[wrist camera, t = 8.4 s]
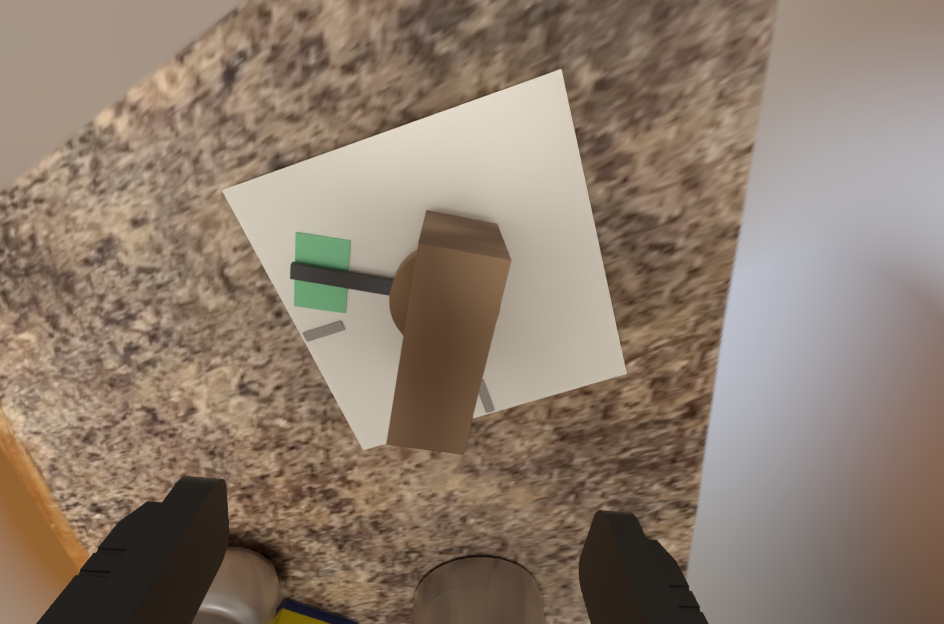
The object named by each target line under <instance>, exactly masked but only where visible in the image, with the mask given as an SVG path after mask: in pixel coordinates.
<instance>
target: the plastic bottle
mask: <svg viewBox="0 0 944 624" xmlns="http://www.w3.org/2000/svg"><path fill="white" fill-rule="evenodd" d="M279 593H280V583H279V580H278V576H277V573H276V570H275V568H274V566H273V565H272V563H271V562H270V561H269V560H268V559H267V558H265V557H264V556H263V555H261V554H259V553H257V552H255V551H253V550H250V549H246V548H242V547H227V550H226V553H225V556H224V559H223V562H222V564H221V566H220V568H219V570H218V572H217V574H216V576H215V578H214V580H213V582H212V584H211V586H210V588H209V590H208V592H207V594H206V596H205V598H204V600H203V602H202V604H201V606H200V608H199V610H198V612H197V614H196V616H195V618H194V620H193V622H192V624H271V623H272V621H273V619H274V617H275V614H276V610H277V604H278V599H279Z"/></svg>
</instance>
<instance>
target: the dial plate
mask: <svg viewBox="0 0 944 624" xmlns="http://www.w3.org/2000/svg"><path fill="white" fill-rule="evenodd" d="M222 191H223V193H224V195H225V197H226V199H227V201H228V203H229V204H230V206H231V208H232V210H233V212H234V214H235V215H236V217H237V219H238V221H239V223H240V225H241V226H242V228H243V230H244V232H245V234H246V236H247V237H248V239H249V241H250V243H251V245H252V247H253V248H254V250H255V252H256V254H257V256H258V258H259V259H260V261H261V263H262V265H263V267H264V269H265V271H266V272H267V274H268V276H269V278H270V280H271V282H272V283H273V285H274V287H275V289H276V291H277V293H278V294H279V296H280V298H281V300H282V302H283V304H284V305H285V307H286V309H287V311H288V313H289V315H290V316H291V318H292V320H293V322H294V324H295V326H296V327H297V329H298V331H299V333H300V335H301V337H302V338H303V340H304V342H305V344H306V346H307V348H308V350H309V351H310V353H311V355H312V357H313V359H314V361H315V362H316V364H317V366H318V368H319V370H320V372H321V373H322V375H323V377H324V379H325V381H326V383H327V384H328V386H329V388H330V390H331V392H332V394H333V395H334V397H335V399H336V401H337V403H338V405H339V406H340V408H341V410H342V412H343V414H344V416H345V418H346V419H347V421H348V423H349V425H350V427H351V429H352V430H353V432H354V434H355V436H356V438H357V440H358V441H359V443H360V445H361V447H362V449H363V450H366V449H369V448H373V447H376V446H380V445H383V444H386V442H387V436H388V430H389V423H390V417H391V411H392V404H393V398H394V392H395V386H396V379H397V373H398V367H399V360H400V354H401V348H402V342H403V335H402V334H401V332H400V331H399V330H398V328H397V327H396V325H395V323H394V321H393V319H392V316H391V312H390V308H389V296H388V295H382V294H376V293H370V292H364V291H359V290H353V289H347V288H341V287H335V286H329V285H323V284H317V283H311V282H305V281H299V280H293V279H290V265H291V263H292V262H293V261H294V262H300V263H305V264H311V265H317V266H323V267H328V268H334V269H340V270H346V271H351V272H357V273H363V274H369V275H374V276H380V277H386V278H392V279H394V277H395V275H396V272H397V270H398V268H399V266H400V265H401V263H402V262H403V261H404V260H405V259H406V258H407V257H408V256H409V255H410V254H411V253H412V252H414V251H415V250H417V247H418V242H419V238H420V234H421V230H422V225H423V221H424V217H425V213H426V210H429V211H435V212H440V213H445V214H450V215H455V216H460V217H466V218H471V219H476V220H481V221H486V222H492V223H497V224H498V226H499V229H500V232H501V234H502V237H503V239H504V242H505V245H506V247H507V250H508V252H509V255H510V257H511V260H512V261H511V265H510V269H509V273H508V277H507V281H506V285H505V289H504V293H503V297H502V301H501V307H500V313H499V316H498V319H497V322H496V326H495V330H494V334H493V338H492V342H491V346H490V350H489V354H488V358H487V362H486V366H485V370H484V374H483V378H482V382H481V386H480V390H479V394H478V398H477V402H476V407H475V411H474V415H473V418H476V417H480V416H483V415H487V414H490V413H493V412H497V411H500V410H504V409H507V408H511V407H514V406H517V405H521V404H524V403H528V402H531V401H535V400H538V399H542V398H545V397H548V396H552V395H555V394H559V393H562V392H566V391H569V390H573V389H576V388H579V387H583V386H586V385H590V384H593V383H597V382H600V381H604V380H607V379H610V378H614V377H617V376H621V375H624V374H627V373H626V369H625V364H624V359H623V355H622V350H621V345H620V341H619V336H618V331H617V327H616V322H615V317H614V313H613V308H612V303H611V299H610V294H609V289H608V285H607V280H606V275H605V271H604V266H603V261H602V257H601V252H600V247H599V243H598V238H597V233H596V229H595V224H594V219H593V215H592V210H591V205H590V201H589V196H588V191H587V187H586V182H585V177H584V173H583V168H582V163H581V159H580V154H579V149H578V145H577V140H576V135H575V131H574V126H573V121H572V117H571V112H570V107H569V103H568V98H567V93H566V89H565V84H564V79H563V75H562V70H561V69H560V70H557V71H554V72H551V73H548V74H546V75H543V76H540V77H537V78H534V79H532V80H529V81H526V82H523V83H520V84H518V85H515V86H512V87H509V88H506V89H504V90H501V91H498V92H495V93H492V94H490V95H487V96H484V97H481V98H478V99H476V100H473V101H470V102H467V103H464V104H462V105H459V106H456V107H453V108H450V109H448V110H445V111H442V112H439V113H436V114H434V115H431V116H428V117H425V118H422V119H420V120H417V121H414V122H411V123H408V124H406V125H403V126H400V127H397V128H394V129H392V130H389V131H386V132H383V133H380V134H378V135H375V136H372V137H369V138H366V139H364V140H361V141H358V142H355V143H352V144H350V145H347V146H344V147H341V148H338V149H336V150H333V151H330V152H327V153H324V154H322V155H319V156H316V157H313V158H310V159H308V160H305V161H302V162H299V163H296V164H294V165H291V166H288V167H285V168H282V169H280V170H277V171H274V172H271V173H268V174H266V175H263V176H260V177H257V178H254V179H252V180H249V181H246V182H243V183H240V184H238V185H235V186H232V187H229V188H227V189H224V190H222Z"/></svg>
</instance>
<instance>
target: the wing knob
mask: <svg viewBox="0 0 944 624" xmlns="http://www.w3.org/2000/svg"><path fill="white" fill-rule="evenodd" d="M511 261H512V260H511V257H510V255H509V252H508V250H507V247H506V245H505V242H504V239H503V237H502V234H501V232H500V229H499V226H498V224H497V223H492V222H486V221H481V220H476V219H471V218H466V217H460V216H455V215H450V214H445V213H440V212H435V211H429V210H426V213H425V217H424V221H423V225H422V230H421V234H420V238H419V242H418V247H417V250H415V251H414V252H412V253H411V254H410V255H409V256H408V257H407V258H406V259H405V260H404V261H403V262H402V263H401V265H400V266H399V268H398V270H397V272H396V275H395V277H394V279H392V278H386V277H380V276H374V275H369V274H363V273H357V272H351V271H346V270H340V269H334V268H328V267H323V266H317V265H311V264H305V263H300V262H294V261H293V262H292V263H291V265H290V279H293V280H299V281H305V282H311V283H317V284H323V285H329V286H335V287H341V288H347V289H353V290H359V291H364V292H370V293H376V294H382V295H388V296H389V308H390V312H391V316H392V319H393V321H394V323H395V325H396V327H397V328H398V330H399V331H400V332H401V334H402V335H403V342H402V348H401V354H400V360H399V367H398V373H397V379H396V386H395V392H394V398H393V404H392V411H391V417H390V423H389V430H388V436H387V442H386V445H394V446H401V447H409V448H416V449H424V450H432V451H439V452H447V453H455V454H462V455H464V451H465V447H466V443H467V439H468V435H469V431H470V427H471V423H472V419H473V415H474V411H475V407H476V402H477V398H478V394H479V390H480V386H481V382H482V378H483V374H484V370H485V366H486V362H487V358H488V354H489V350H490V346H491V342H492V338H493V334H494V330H495V326H496V322H497V319H498V316H499V313H500V307H501V301H502V297H503V293H504V289H505V285H506V281H507V277H508V273H509V269H510V265H511Z"/></svg>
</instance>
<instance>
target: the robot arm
mask: <svg viewBox="0 0 944 624" xmlns="http://www.w3.org/2000/svg"><path fill="white" fill-rule="evenodd" d="M228 541H229V518H228V503H227V487H226V482H225V480H224V479H216V478H204V477H191V476H184V477H182V478H181V479H180V480H179V481H178V482H177V483H176V484H175V486H174V487H173V488H172V490H171V491H170V492H169V494H168V495H167V496H166V498H165V499H164V501H163V502H148V501H147V502H146V503H144V504H143V505H142V506H140V507H139V508H138V509H136V510H135V511H133V512H132V513H131V514H129V515H128V516H126V517H125V518H124V519H122V520H121V521H119V522H118V524H117V525H116V526H115V527H114V528H113V530H112V531H111V532H110V533H109V535H108V536H107V537H106V538H105V540H104V541H103V542H102V543H101V545H100V546H99V547H98V550H97V552H96V553H93V554H92V556H91V557H90V558H89V559H88V561H87V562H86V563H85V564H84V565H83V567H82V568H81V569H80V573H79V575H76V576H75V577H74V578H73V579H72V580H71V582H70V583H69V584H68V585H67V587H66V588H65V589H64V590H63V591H62V593H61V594H60V595H59V596H58V598H57V599H56V600H55V601H54V603H53V604H52V605H51V606H50V608H49V609H48V610H47V611H46V613H45V614H44V615H43V616H42V617H41V619H40V620H39V621H38V622H37V624H192V622H193V620H194V618H195V616H196V614H197V612H198V610H199V608H200V606H201V604H202V602H203V600H204V598H205V596H206V594H207V592H208V590H209V588H210V586H211V584H212V582H213V580H214V578H215V576H216V574H217V572H218V570H219V568H220V566H221V564H222V562H223V559H224V556H225V553H226V550H227V546H228ZM579 581H580V587H581V591H582V594H583V598H584V601H585V605H586V608H587V612H588V615H589V619H590V622H591V624H708V622H707V620H706V618H705V616H704V614H703V612H700V606H699V604H698V603H697V601H696V599H695V597H694V595H693V593H692V591H689V585H688V583H687V581H686V579H685V577H684V575H683V574H682V572H681V570H680V568H679V566H678V564H677V562H676V561H675V560H674V559H673V557H672V556H671V555H670V554H669V553H668V552H667V551H666V550H665V549H664V548H663V546H662V545H661V544H660V543H659V542H658V541H657V540H649V539H646V536H645V534H644V532H643V530H642V528H641V526H640V524H639V522H638V520H637V518H636V517H635V515H634V514H633V513H629V512H616V511H603V510H598V511H597V512H596V513H595V515H594V518H593V521H592V524H591V527H590V530H589V533H588V536H587V539H586V541H585V544H584V547H583V550H582V553H581V556H580V561H579ZM412 624H546V621H545V616H544V610H543V605H542V599H541V594H540V589H539V587H538V584H537V582H536V580H535V579H534V578H533V577H532V575H531V574H530V573H529V572H527V571H526V570H525V569H523V568H522V567H520V566H518V565H516V564H514V563H512V562H509V561H505V560H502V559H497V558H489V557H472V558H466V559H460V560H456V561H453V562H450V563H447V564H444V565H442V566H441V567H439V568H437V569H435V570H433V571H432V572H431V573H430V574H428V575H427V576H426V577H425V578H424V579H423V580H422V582H421V583H420V584H419V585H418V587H417V590H416V592H415V595H414V606H413V618H412Z"/></svg>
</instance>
